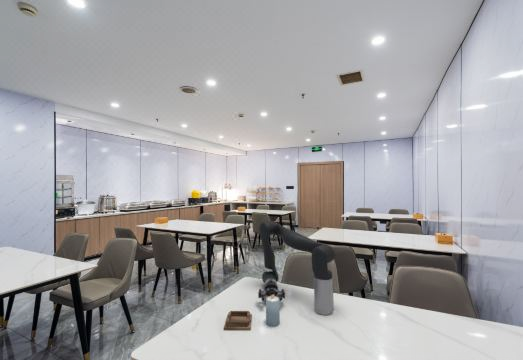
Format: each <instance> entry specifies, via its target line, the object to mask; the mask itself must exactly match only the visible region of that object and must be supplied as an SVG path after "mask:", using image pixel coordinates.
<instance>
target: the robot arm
mask: <svg viewBox="0 0 523 360" xmlns="http://www.w3.org/2000/svg"><path fill="white" fill-rule="evenodd" d="M259 234H260V240H261V246H262V250H263V263H264V264H263V265H264V266H263V267H264V268H265V269H267V271H264V272H263V273H262V274H261V278H262V279H261V280H262V282H263V283H264V290H262V289H261V288H259V289H258V293H257V294H258V299H261V301H262V302H265V299H266V298H267V297H269V296H271V295H273V294H274V296H276V297H278V298H279V299H280V302H282V301H283V299H286V293H285V289H284V288H282V289H281V290H279V287H278V281H279V278H280V276H279V273H278V271H277V268H276V266H277V265H276V255H275V252H274V250H273V248H272V246H271V245H270V236H277V237H278V238H281V239H282V241H283V243H284V244H285V245H287V247H289V248H291V249H294V250H296V251H300V252H307V253H310V254H311V269H312V272H313V294H314V295H313V298H314V299H313V300H314V301H313V302H314V304H313V307H314V312H315V313H317V314H319V315H321V316H330V315H332V314H333V313H334V310H335V309H334V308H335V306H334V290H333V272H332V271H331V270H329V269H328V266H329V265H328V264H329V263H331V262H333V261H334V260H335V259H336V252H335V250H334V249H333V247H332V246H330V245H329V244H326V243H322V242H320V241H316V240H314V239H311V238H309V237H307V236H305V235H303V234H301V233H299V232H297V231H294V230H291V229H289V228H288V227H285V226H283V225H281V224H280V223H278V222H276V221H275V220H267V221H262V222H261V223H260V225H259ZM268 270H269V271H268ZM270 270H271V271H270Z"/></svg>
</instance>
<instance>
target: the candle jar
mask: <svg viewBox="0 0 523 360" xmlns="http://www.w3.org/2000/svg"><path fill="white" fill-rule="evenodd" d="M280 302H281V301H280V299H279V298H278V297H276V296H274V294H273V295H271V296H269V297H267V298H265V325H266V326H268V327H270V328H271V327H272V328H273V327H274V328H276V327H278V326H279V325H280V322H281V321H280V319H281V318H280V317H281V316H280V315H281V314H280V313H281V312H280V308H281V307H280Z"/></svg>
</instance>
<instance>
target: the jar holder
mask: <svg viewBox="0 0 523 360" xmlns="http://www.w3.org/2000/svg"><path fill="white" fill-rule="evenodd" d="M252 319H253V314H251V312H250V311H249V310H230V311H229V312H228V313H227V316H226V319H225V323H224V326H223V331H251V330H252V322H253V321H252Z"/></svg>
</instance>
